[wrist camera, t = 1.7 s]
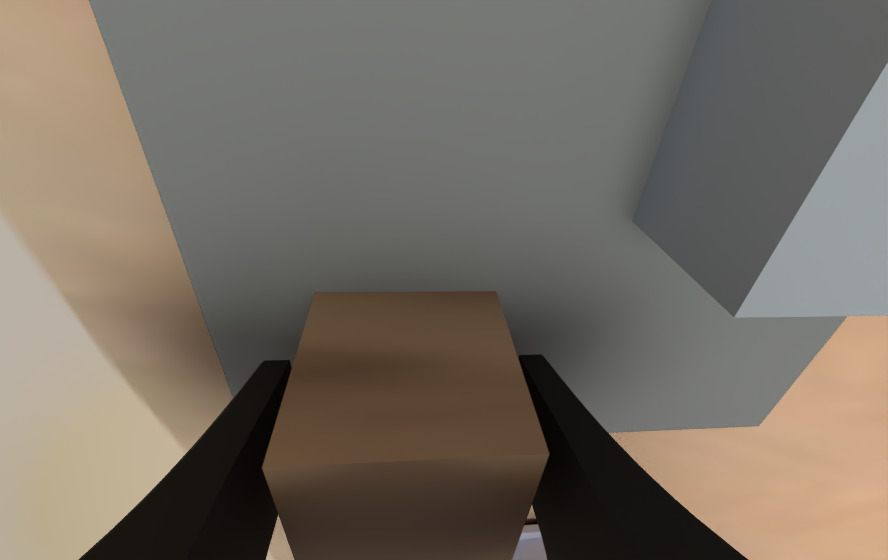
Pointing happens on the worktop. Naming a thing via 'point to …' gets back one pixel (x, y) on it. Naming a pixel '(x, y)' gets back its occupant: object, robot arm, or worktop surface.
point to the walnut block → (405, 431)
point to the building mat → (444, 183)
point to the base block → (780, 160)
